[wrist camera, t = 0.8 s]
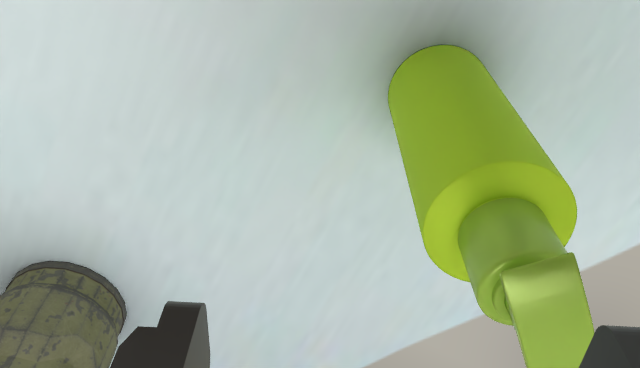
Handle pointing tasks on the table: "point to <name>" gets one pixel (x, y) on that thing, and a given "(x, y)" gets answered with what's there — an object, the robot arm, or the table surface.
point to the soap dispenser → (491, 202)
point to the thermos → (59, 318)
